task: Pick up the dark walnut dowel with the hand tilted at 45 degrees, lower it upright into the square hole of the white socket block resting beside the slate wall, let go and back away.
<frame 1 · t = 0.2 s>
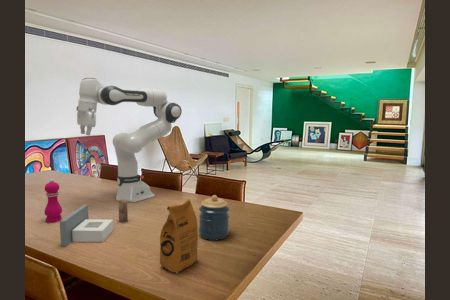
hand: (85, 134, 154), 39 cm above the table, tool pointing down, fingers open, 8 cm apart
walnut dowel: (123, 220, 139), on the table
pepper mill: (53, 220, 138), on the table
slate backstop wall: (75, 235, 122), on the table
coffee package: (178, 264, 102), on the table
white socket block: (94, 236, 123), on the table
canister: (213, 235, 126), on the table
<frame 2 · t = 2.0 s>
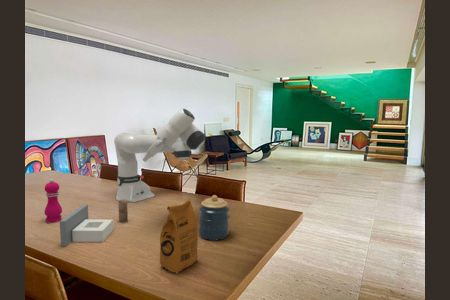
hand: (146, 159, 136), 30 cm above the table, tool tilted 40°, fingers open, 8 cm apart
nothing on the table moved.
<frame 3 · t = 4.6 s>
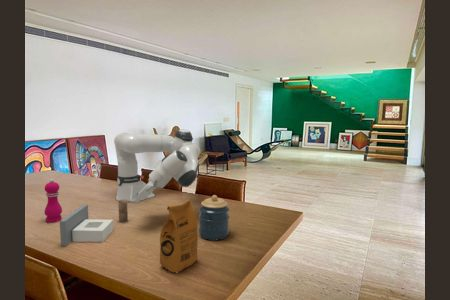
hand: (137, 198, 137), 11 cm above the table, tool tilted 45°, fingers open, 8 cm apart
nothing on the table moved.
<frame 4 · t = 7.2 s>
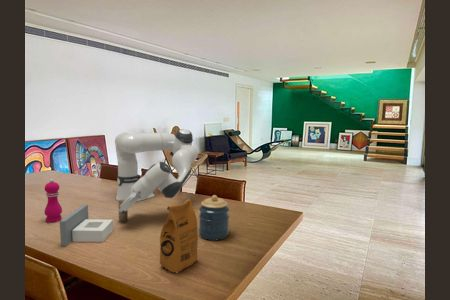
hand: (121, 209, 138), 6 cm above the table, tool tilted 45°, fingers closed on walnut dowel, 4 cm apart
walnut dowel: (123, 220, 139), on the table, touching gripper
everything else where it was.
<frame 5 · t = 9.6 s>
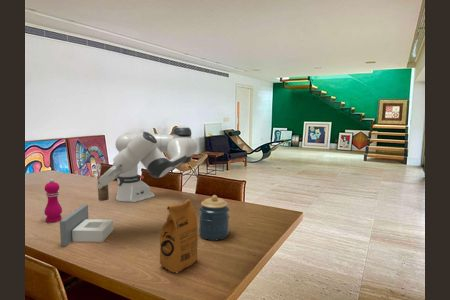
hand: (101, 185, 122), 21 cm above the table, tool tilted 45°, fingers closed on walnut dowel, 4 cm apart
walnut dowel: (103, 199, 123), point 15 cm above the table, touching gripper
everything else where it was.
when the fingers open (8 cm above the table, at t = 12.2 s): walnut dowel drops 2 cm, resting on white socket block.
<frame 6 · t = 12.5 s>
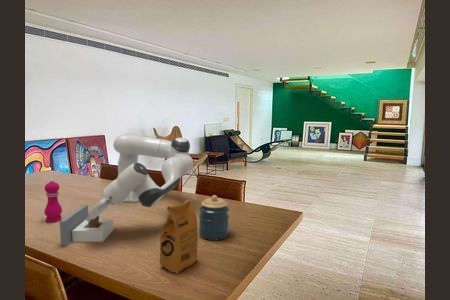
hand: (91, 216, 122), 8 cm above the table, tool tilted 45°, fingers open, 7 cm apart
walnut dowel: (94, 233, 123), point 1 cm above the table, touching white socket block
white socket block: (94, 236, 123), on the table, touching walnut dowel
everything else where it was.
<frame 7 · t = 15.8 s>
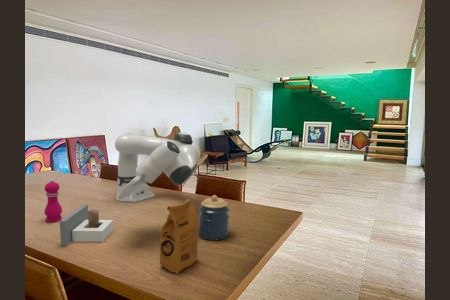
hand: (123, 195, 121), 18 cm above the table, tool tilted 45°, fingers open, 8 cm apart
nothing on the table moved.
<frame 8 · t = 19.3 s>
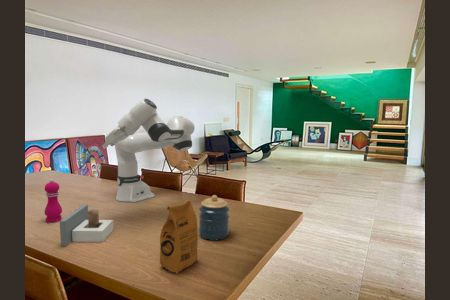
hand: (107, 146, 138), 35 cm above the table, tool tilted 45°, fingers open, 8 cm apart
nothing on the table moved.
at the end: walnut dowel 0.1 cm off-centre on the white socket block, point 1.0 cm above the white socket block's base; walnut dowel tilted 0°; white socket block moved 0.5 cm from its start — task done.
